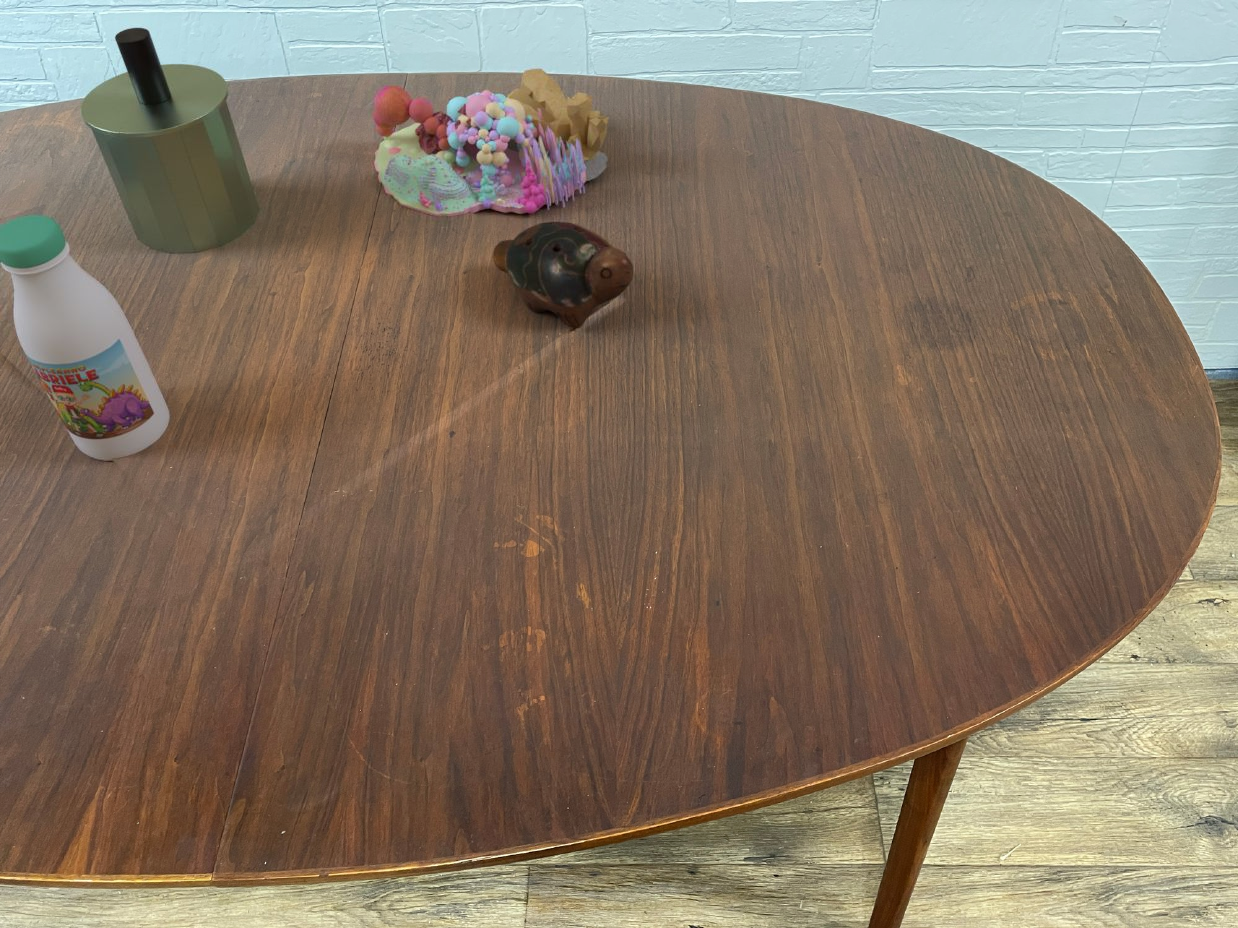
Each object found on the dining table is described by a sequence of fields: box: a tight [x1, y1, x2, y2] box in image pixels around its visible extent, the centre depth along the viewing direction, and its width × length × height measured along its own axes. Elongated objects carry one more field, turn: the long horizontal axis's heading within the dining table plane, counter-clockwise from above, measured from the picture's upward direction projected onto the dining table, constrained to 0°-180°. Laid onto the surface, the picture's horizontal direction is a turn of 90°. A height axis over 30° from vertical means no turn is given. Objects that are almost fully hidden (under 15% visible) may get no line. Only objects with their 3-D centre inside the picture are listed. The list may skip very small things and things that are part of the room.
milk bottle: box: [0, 214, 171, 462], centre depth 81 cm, size 8×8×20 cm
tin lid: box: [80, 27, 229, 138], centre depth 97 cm, size 13×13×7 cm
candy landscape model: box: [373, 68, 610, 218], centre depth 112 cm, size 25×24×9 cm
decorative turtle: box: [492, 221, 634, 330], centre depth 96 cm, size 10×15×8 cm, turn 63°
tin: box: [91, 101, 260, 254], centre depth 104 cm, size 12×12×14 cm
